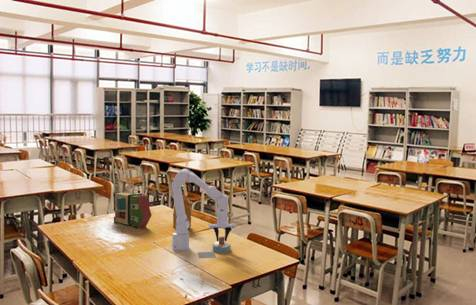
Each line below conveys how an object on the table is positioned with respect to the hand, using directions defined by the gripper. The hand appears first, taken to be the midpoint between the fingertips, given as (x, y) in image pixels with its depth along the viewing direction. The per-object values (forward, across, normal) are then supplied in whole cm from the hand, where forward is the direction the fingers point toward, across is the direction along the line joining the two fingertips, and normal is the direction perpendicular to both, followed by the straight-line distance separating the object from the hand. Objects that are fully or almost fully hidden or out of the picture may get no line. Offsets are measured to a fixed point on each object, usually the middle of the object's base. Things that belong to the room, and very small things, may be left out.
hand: (221, 240), depth 240 cm
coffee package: (+6, -19, +48) cm, 52 cm away
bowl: (+5, 0, 0) cm, 5 cm away
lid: (+2, 0, 0) cm, 2 cm away
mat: (+5, -9, -8) cm, 13 cm away
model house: (+6, -52, +54) cm, 76 cm away
